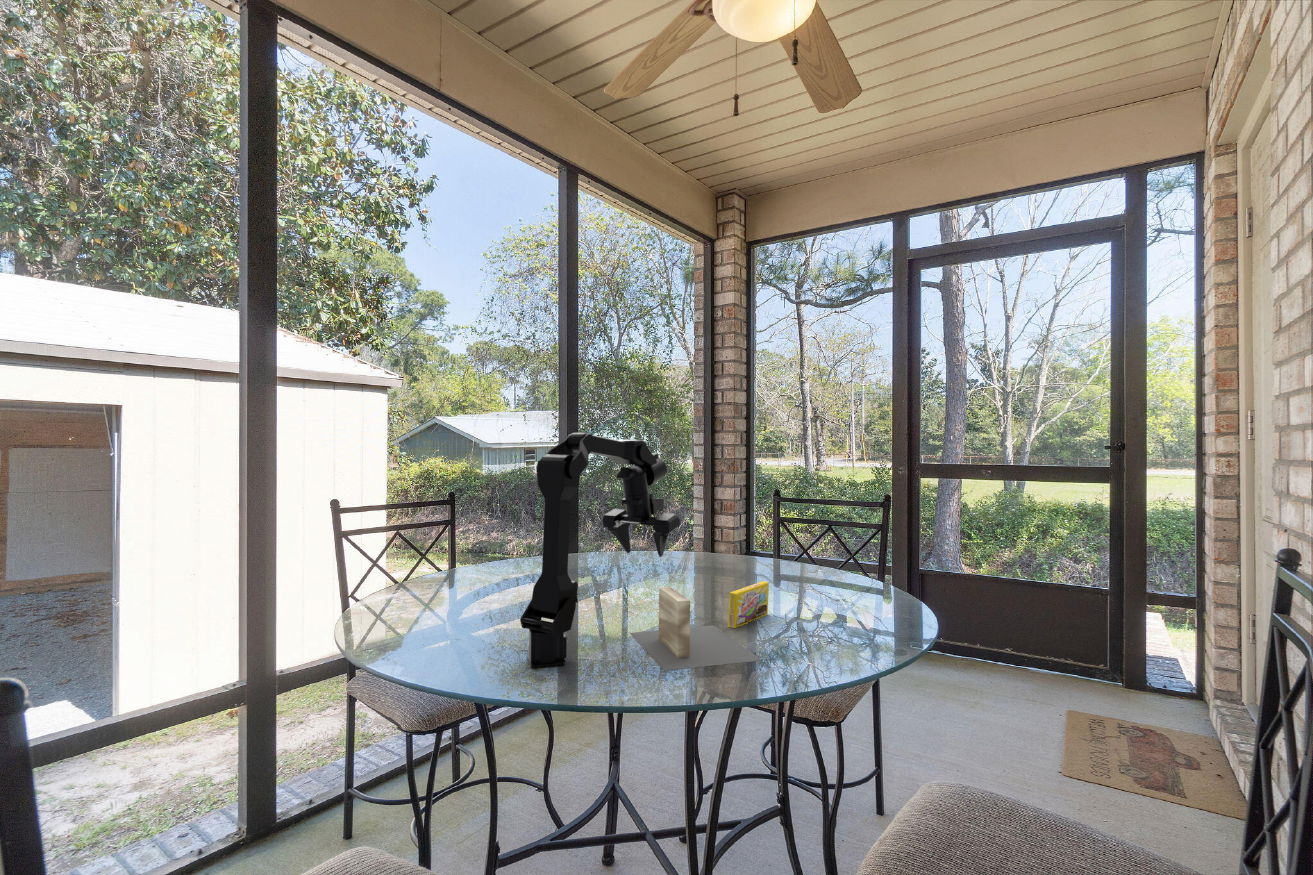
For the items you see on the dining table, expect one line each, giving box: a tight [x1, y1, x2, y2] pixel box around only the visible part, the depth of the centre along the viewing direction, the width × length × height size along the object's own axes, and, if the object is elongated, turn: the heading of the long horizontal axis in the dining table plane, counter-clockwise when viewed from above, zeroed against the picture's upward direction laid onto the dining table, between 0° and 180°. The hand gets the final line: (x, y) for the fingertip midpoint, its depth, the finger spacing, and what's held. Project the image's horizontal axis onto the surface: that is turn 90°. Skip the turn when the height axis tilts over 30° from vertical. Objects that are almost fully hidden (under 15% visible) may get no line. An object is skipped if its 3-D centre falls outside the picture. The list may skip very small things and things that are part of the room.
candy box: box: [727, 580, 770, 629], centre depth 152 cm, size 16×2×8 cm, turn 143°
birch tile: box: [658, 586, 691, 658], centre depth 131 cm, size 2×12×11 cm, turn 18°
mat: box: [629, 625, 762, 672], centre depth 132 cm, size 20×24×1 cm
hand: (644, 554), depth 152 cm, fingers open, 9 cm apart
